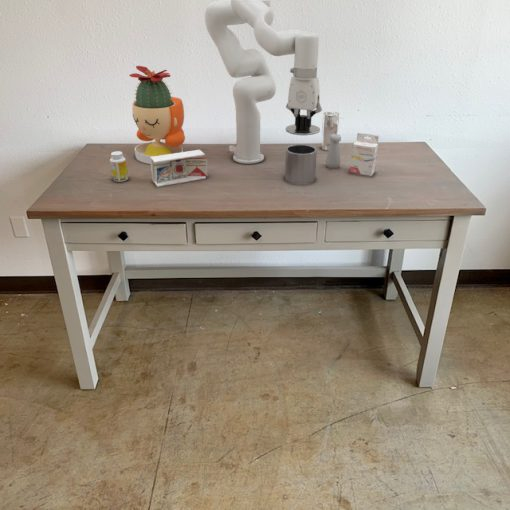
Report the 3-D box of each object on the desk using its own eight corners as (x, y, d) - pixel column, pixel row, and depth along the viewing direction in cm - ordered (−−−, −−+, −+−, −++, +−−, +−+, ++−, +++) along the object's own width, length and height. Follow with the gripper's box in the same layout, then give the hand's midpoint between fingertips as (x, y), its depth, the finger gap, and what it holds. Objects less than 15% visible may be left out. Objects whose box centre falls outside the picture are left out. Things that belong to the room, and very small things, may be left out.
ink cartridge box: (349, 173, 183) (353, 135, 176) (352, 169, 187) (356, 132, 179) (371, 177, 180) (376, 138, 172) (374, 173, 184) (379, 135, 176)
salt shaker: (339, 170, 186) (342, 137, 179) (324, 169, 187) (327, 136, 180) (340, 165, 191) (343, 133, 184) (325, 164, 192) (328, 132, 185)
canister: (280, 181, 176) (281, 151, 170) (291, 172, 185) (293, 142, 179) (308, 187, 172) (310, 156, 166) (318, 176, 181) (321, 147, 175)
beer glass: (337, 151, 205) (340, 115, 198) (321, 151, 205) (323, 115, 198) (335, 145, 211) (338, 111, 204) (319, 145, 211) (322, 111, 204)
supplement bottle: (130, 176, 180) (126, 150, 175) (126, 182, 176) (122, 155, 170) (115, 176, 181) (111, 150, 175) (111, 182, 176) (106, 155, 170)
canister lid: (280, 134, 167) (280, 118, 164) (293, 125, 176) (293, 110, 173) (312, 138, 162) (313, 122, 159) (324, 129, 171) (325, 113, 169)
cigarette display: (156, 187, 172) (153, 161, 167) (152, 181, 177) (149, 156, 172) (209, 177, 180) (208, 153, 175) (204, 172, 184) (202, 149, 179)
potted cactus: (166, 168, 188) (157, 73, 170) (124, 157, 198) (111, 67, 180) (199, 152, 204) (194, 64, 186) (159, 143, 214) (151, 59, 196)
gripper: (278, 73, 159) (277, 128, 169) (324, 77, 153) (321, 134, 163) (287, 69, 165) (285, 123, 175) (332, 73, 159) (328, 128, 168)
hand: (302, 128), depth 169 cm, fingers closed on canister lid, 2 cm apart
